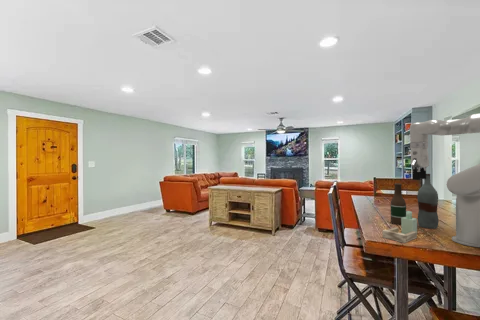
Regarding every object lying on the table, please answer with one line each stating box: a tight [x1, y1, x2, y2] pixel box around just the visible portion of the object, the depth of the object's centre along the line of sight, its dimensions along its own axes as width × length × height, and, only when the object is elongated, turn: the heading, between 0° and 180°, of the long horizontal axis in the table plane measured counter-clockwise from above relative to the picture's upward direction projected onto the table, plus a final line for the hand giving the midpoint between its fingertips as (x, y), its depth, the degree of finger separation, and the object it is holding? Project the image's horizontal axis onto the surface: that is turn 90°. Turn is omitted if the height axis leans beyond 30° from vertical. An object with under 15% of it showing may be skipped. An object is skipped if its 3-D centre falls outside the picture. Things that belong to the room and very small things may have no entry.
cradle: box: [382, 226, 418, 244], centre depth 113 cm, size 10×13×3 cm
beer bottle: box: [390, 182, 407, 226], centre depth 137 cm, size 8×8×24 cm
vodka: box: [416, 173, 440, 230], centre depth 131 cm, size 9×9×30 cm
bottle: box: [400, 210, 418, 234], centre depth 119 cm, size 5×5×12 cm
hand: (419, 179), depth 123 cm, fingers open, 6 cm apart
